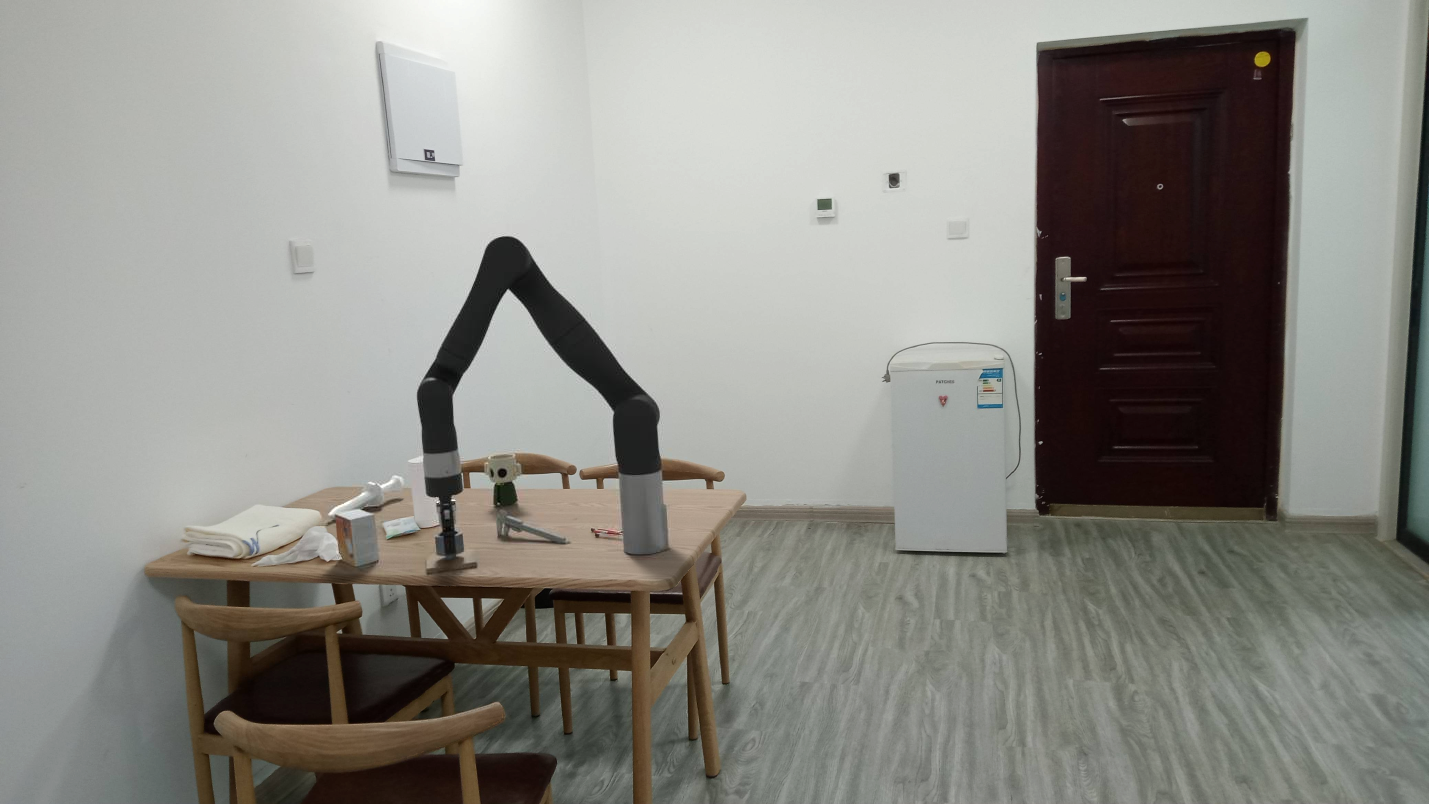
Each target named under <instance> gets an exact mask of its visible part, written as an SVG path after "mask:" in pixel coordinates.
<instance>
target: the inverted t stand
mask: <svg viewBox="0 0 1429 804" xmlns="http://www.w3.org/2000/svg"><path fill="white" fill-rule="evenodd" d="M425 563H426V574H434V573H440V572H439V571H441V572H447V570H448V571H455V570H461V569H468V568H477V567H478V563H477V557H476V553H475V548H469V549H468V548H466V549H464V552H462V553H460V554H457V555H452V556H438V555H437V553H429V554H426V562H425ZM454 569H455V570H454Z"/></svg>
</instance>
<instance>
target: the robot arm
mask: <svg viewBox="0 0 1429 804" xmlns="http://www.w3.org/2000/svg"><path fill="white" fill-rule="evenodd" d="M481 258H482V259H481V260H480V261H481V262H480V263H479V264H480V265H479V268H478V269H477V274H476V276H475V278H474V279H475V280H474V281H473V284H472V286H471V288H470V291H469V293H468V295H467V297H466V299H465V302H464V303H463V305H462V307H461V309H460V310H459V313H458V314H457V316H456V318H455V320H454V321H453V323H452V325H451V327H450V329H448V332H447V333H446V336H445V337H444V340H443V341H442V343H441V345H440V346H439V349H438V351H437V353H436V356H435V359H434V361H433V362H432V364H430V367H429V368H428V370H427V372H426V373H425V375H424V376H423V379H422V380H421V382H420V383H419V385H418V388H417V391H416V400H417V401H416V402H417V403H416V404H417V409H418V415H419V419H420V425H421V445H422V456H423V457H422V467H423V476H424V478H423V479H424V487H425V495H426V496H428V497H430V498H438V501H437V502H435V504H436V505H435V506H436V513H437V515H438V523H439V527H440V528H441V531H442V532H443V533H442V536H443V538H444V546H445V554H446V555H449V554H455V553H456V545H455V534H456V531H455V530H456V528H455V526H456V525H457V515H456V512H457V505H456V500H455V499H453V498H452V497H453V496H458V495H461V493H462V492H463V491H464V484H463V475H462V464H461V463H462V462H461V456H460V453H459V446H458V434H457V428H456V426H455V421H454V420H455V419H454V418H455V416H454V394H455V392H456V390H457V388H458V386H459V384H460V382H461V380H462V377H463V376H464V374H465V373H466V372H467V370H468V369H469V368H470V367H471V365H472V362H473V361H474V360H475V358H476V356H477V354H478V352H479V350H480V348H481V346H482V344H483V342H484V340H485V338H486V335H487V332H488V331H489V328H490V325H491V322H492V320H493V317H494V315H495V312H496V310H497V308H498V307H499V304H500V302H501V301H502V299H503V298H504V295H505V294H506V293H507V292H508V290H509V291H510V293H512V294H513V296H514V297H515V298H516V299H517V300H518V301H519V302H520V303H521V304H522V305H523V306H524V308H525V309H526V310H527V312H528V314H529V315H530V317H531V318H532V320H533V321H534V324H535V326H536V327H537V328H538V330H539V332H540V333H541V335H542V337H544V339H545V340H546V341H547V343H548V345H549V346H550V347H551V348H552V349H553V351H554V353H556V355H557V356H558V357H559V358H560V359H561V360H562V362H563V363H564V364H565V365H566V366H567V367H569V369H570V370H572V372H574V373H575V374H576V375H578V377H580V378H581V379H583V380H584V381H585V382H587V383H589V385H591V386H592V387H593V388H594V389H595V390H596V391H597V392H598V393H599V394H600V395H601V396H602V399H604V401H605V402H606V403H607V404H608V406H609V407H610V409H611V410H612V412H613V416H612V432H613V445H614V455H615V460H616V462H617V463H616V464H617V469H618V485H619V499H620V500H619V501H620V513H621V514H620V516H621V531H622V544H623V545H622V546H623V547H622V548H623V552H625V553H627V554H630V555H652V554H656V553H659V552H662V551H664V550H670V544H669V541H670V539H669V528H668V527H669V526H668V525H669V523H668V509H667V508H668V507H667V505H666V504H665V501H664V486H663V485H664V482H663V470H662V469H663V468H662V457H661V453H660V448H659V447H660V446H659V432H658V430H659V429H658V425H659V423H660V420H661V419H660V418H661V411H660V409H659V406H658V404H657V402H656V401H655V399H654V398H652V396H651V395H650V394H649V393H647V392H646V391H645V390H644V389H643V388H642V387H641V386H640V385H639V384H638V383H637V382H636V381H635V380H634V379H633V378H632V377H631V375H629V374H628V372H627V371H625V369H624V368H623V366H622V365H621V364H620V362H619V361H618V359H617V358H616V357H615V356H614V354H613V353H612V351H611V349H609V347H608V346H607V344H606V343H605V342H604V340H603V339H602V338H601V337H600V335H599V334H598V333H597V331H596V329H594V328H593V327H592V325H591V324H590V323H589V322H588V320H587V319H586V318H585V317H584V316H583V314H582V313H581V312H580V311H578V309H577V308H576V307H575V306H574V305H573V304H572V303H571V302H570V301H569V300H568V299H566V297H564V296H563V295H562V294H561V293H560V292H559V291H558V290H557V289H556V288H555V287H554V286H553V285H552V284H551V282H550V281H549V280H548V278H547V277H546V276H545V274H544V273H543V271H542V270H541V268H540V267H539V265H538V264H537V262H536V261H535V260H534V258H533V256H532V254H531V252H530V251H529V249H528V247H527V246H526V245H525V244H524V243H523V242H522V241H520V239H518V238H517V237H514V236H512V235H500V236H497V237H494V238H492V240H490V241H489V243H488V244H487V245H486V246H485V249H484V252H483V255H482V257H481Z"/></svg>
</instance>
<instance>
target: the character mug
mask: <svg viewBox="0 0 1429 804" xmlns="http://www.w3.org/2000/svg"><path fill="white" fill-rule="evenodd" d="M483 467H484V474H485V475H487V476H488V478H489V481H490V482H492V483H495V484H494V485H493V505H494V506H495V507H498V506H499V505H500V507H507V506H512V505H515V504H516V503H517V502H518V494H517V491H516V486H515V484H514V482H513V481H516V480H517V478H518V477H520V476H522V473H523V472H522V465H521V463H517V458H516V454H514V453H501V454H500V453H499V454H493V455H490V456H488V458H487V462H484V464H483ZM498 504H499V505H498Z"/></svg>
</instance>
